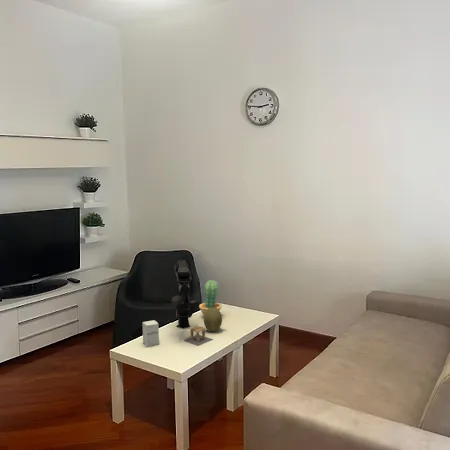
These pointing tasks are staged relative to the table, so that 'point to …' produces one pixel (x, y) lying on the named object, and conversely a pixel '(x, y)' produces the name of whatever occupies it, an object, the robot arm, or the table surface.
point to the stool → (197, 332)
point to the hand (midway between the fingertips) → (184, 315)
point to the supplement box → (150, 333)
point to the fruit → (212, 319)
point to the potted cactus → (210, 296)
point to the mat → (199, 340)
